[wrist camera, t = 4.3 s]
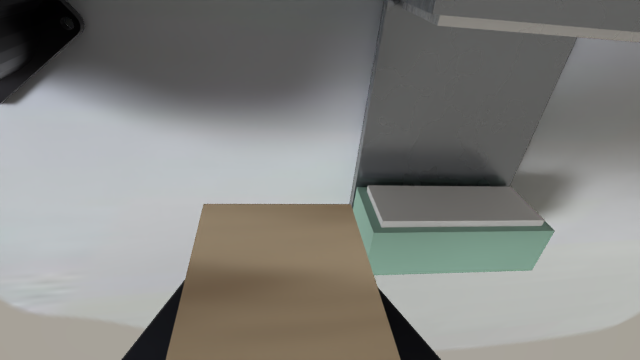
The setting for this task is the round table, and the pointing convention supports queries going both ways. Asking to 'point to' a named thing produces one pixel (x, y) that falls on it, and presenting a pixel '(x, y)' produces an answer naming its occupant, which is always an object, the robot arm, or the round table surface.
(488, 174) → the grey angle bracket
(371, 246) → the block
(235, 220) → the tan wooden block
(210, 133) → the round table surface
